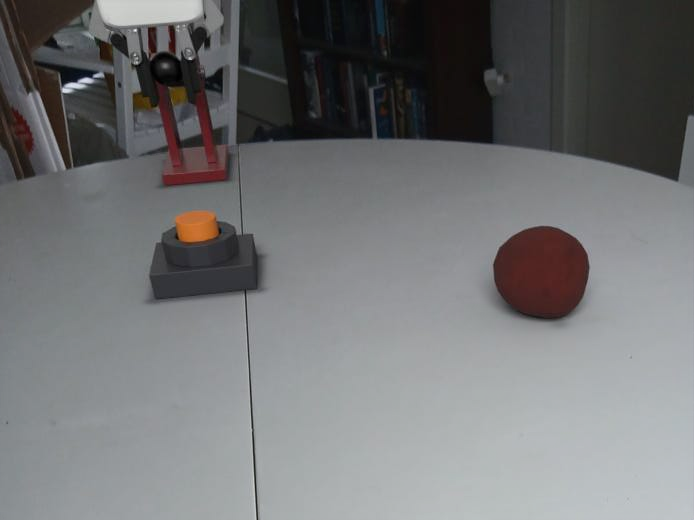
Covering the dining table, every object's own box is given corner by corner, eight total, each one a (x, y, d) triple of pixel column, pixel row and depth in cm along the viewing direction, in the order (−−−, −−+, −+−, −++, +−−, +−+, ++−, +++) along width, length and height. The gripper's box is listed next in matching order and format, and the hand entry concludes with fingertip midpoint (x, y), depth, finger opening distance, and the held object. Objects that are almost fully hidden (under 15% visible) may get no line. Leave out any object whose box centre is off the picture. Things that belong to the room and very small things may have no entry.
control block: (155, 299, 88) (143, 254, 85) (161, 266, 94) (151, 222, 91) (257, 288, 89) (248, 244, 86) (257, 256, 95) (249, 213, 92)
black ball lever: (184, 84, 101) (177, 48, 100) (152, 87, 101) (145, 50, 99) (196, 90, 112) (190, 57, 110) (167, 92, 111) (161, 59, 110)
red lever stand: (226, 180, 113) (203, 63, 105) (164, 185, 112) (136, 68, 104) (228, 154, 120) (207, 43, 112) (170, 160, 119) (144, 48, 112)
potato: (528, 284, 87) (528, 202, 82) (605, 309, 83) (609, 224, 78) (471, 312, 83) (467, 227, 79) (548, 339, 79) (549, 251, 74)
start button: (177, 246, 87) (172, 226, 86) (180, 232, 90) (175, 212, 89) (218, 242, 88) (214, 222, 86) (220, 228, 90) (215, 208, 89)
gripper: (216, -126, 95) (253, 87, 107) (40, -114, 93) (98, 100, 106) (213, -120, 89) (253, 104, 102) (27, -107, 88) (90, 119, 100)
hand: (174, 100), depth 104 cm, fingers closed on black ball lever, 3 cm apart
